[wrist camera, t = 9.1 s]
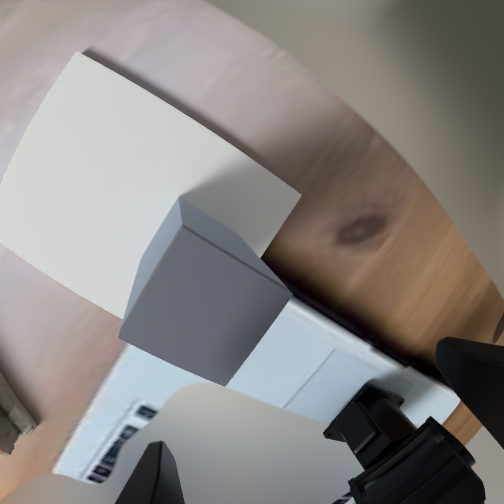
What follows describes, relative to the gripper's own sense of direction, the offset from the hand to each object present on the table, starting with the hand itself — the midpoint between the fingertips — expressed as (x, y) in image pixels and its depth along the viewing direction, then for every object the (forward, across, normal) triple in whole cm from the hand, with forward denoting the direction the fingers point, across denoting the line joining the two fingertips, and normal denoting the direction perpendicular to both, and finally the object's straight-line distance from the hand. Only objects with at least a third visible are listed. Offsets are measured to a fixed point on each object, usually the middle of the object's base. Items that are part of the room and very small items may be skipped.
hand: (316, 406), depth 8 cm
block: (+12, +2, -3) cm, 12 cm away
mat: (+12, +5, -6) cm, 14 cm away
